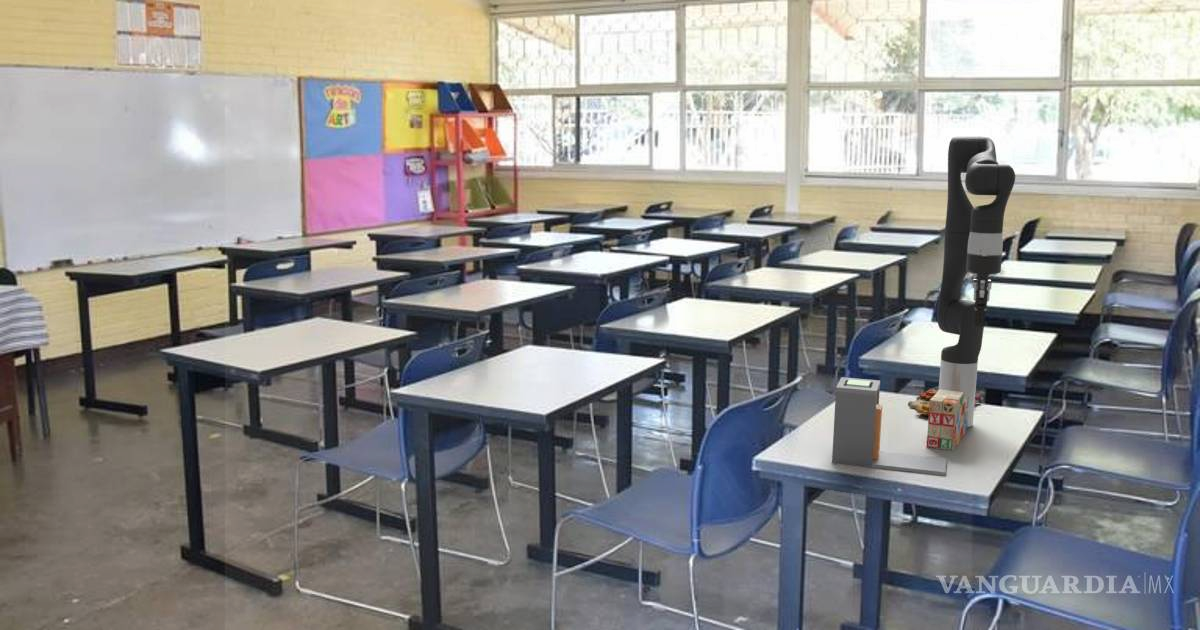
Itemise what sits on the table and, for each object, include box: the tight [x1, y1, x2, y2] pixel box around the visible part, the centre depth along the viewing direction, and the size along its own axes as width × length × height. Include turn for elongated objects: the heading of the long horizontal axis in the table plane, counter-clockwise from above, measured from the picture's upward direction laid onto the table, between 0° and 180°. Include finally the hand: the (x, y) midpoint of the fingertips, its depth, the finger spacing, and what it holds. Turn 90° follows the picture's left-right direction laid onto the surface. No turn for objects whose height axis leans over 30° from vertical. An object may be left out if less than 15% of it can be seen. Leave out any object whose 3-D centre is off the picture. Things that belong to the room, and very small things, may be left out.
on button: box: [846, 379, 871, 388], centre depth 240 cm, size 5×5×5 cm
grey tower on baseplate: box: [831, 376, 947, 476], centre depth 239 cm, size 11×25×18 cm, turn 71°
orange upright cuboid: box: [873, 403, 883, 460], centre depth 241 cm, size 4×8×12 cm, turn 71°
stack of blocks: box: [925, 389, 969, 452], centre depth 260 cm, size 21×6×12 cm, turn 152°
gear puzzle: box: [907, 386, 984, 416], centre depth 291 cm, size 31×16×4 cm, turn 144°
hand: (979, 326), depth 240 cm, fingers closed
